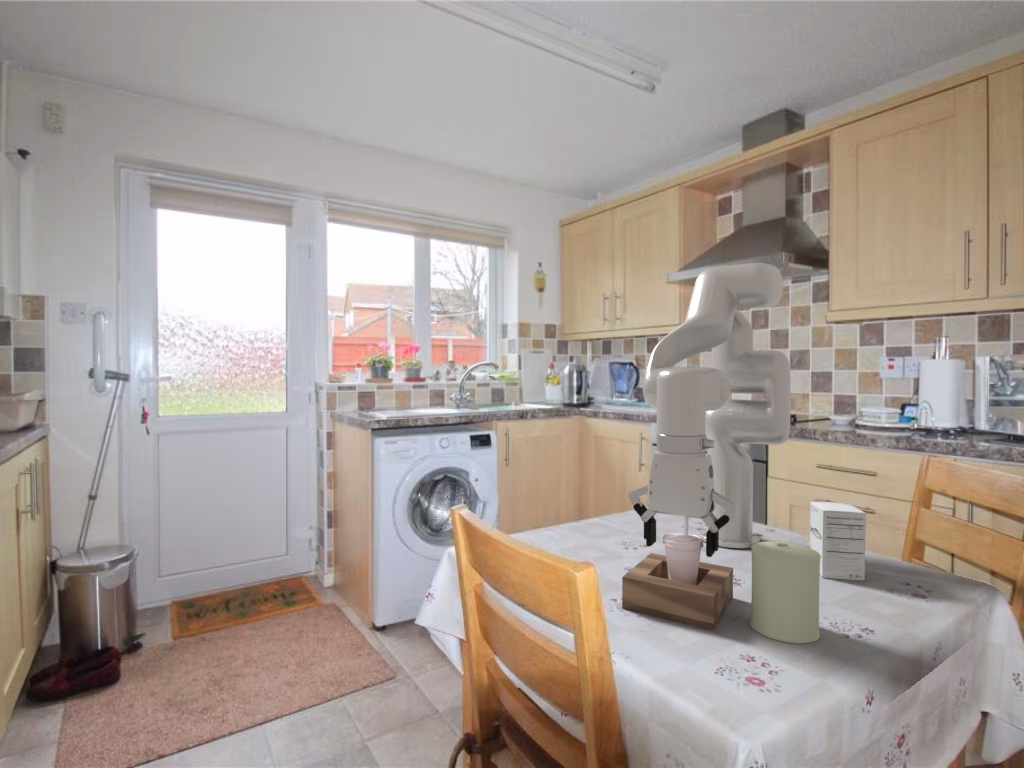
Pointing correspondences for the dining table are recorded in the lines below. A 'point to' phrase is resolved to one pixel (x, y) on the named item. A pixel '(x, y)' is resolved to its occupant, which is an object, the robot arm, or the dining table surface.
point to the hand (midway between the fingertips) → (680, 549)
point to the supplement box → (838, 539)
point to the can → (785, 592)
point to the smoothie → (683, 555)
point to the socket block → (678, 592)
